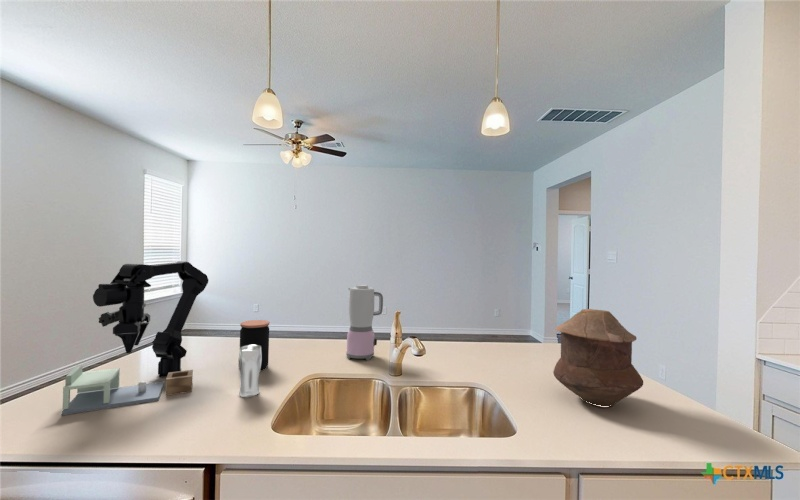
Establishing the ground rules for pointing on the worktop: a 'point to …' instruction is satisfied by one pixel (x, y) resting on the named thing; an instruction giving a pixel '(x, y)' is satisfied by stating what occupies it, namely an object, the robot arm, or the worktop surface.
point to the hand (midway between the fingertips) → (132, 348)
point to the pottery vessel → (597, 358)
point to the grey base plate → (115, 397)
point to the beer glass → (249, 369)
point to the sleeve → (179, 382)
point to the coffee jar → (256, 337)
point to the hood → (90, 382)
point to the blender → (362, 322)
